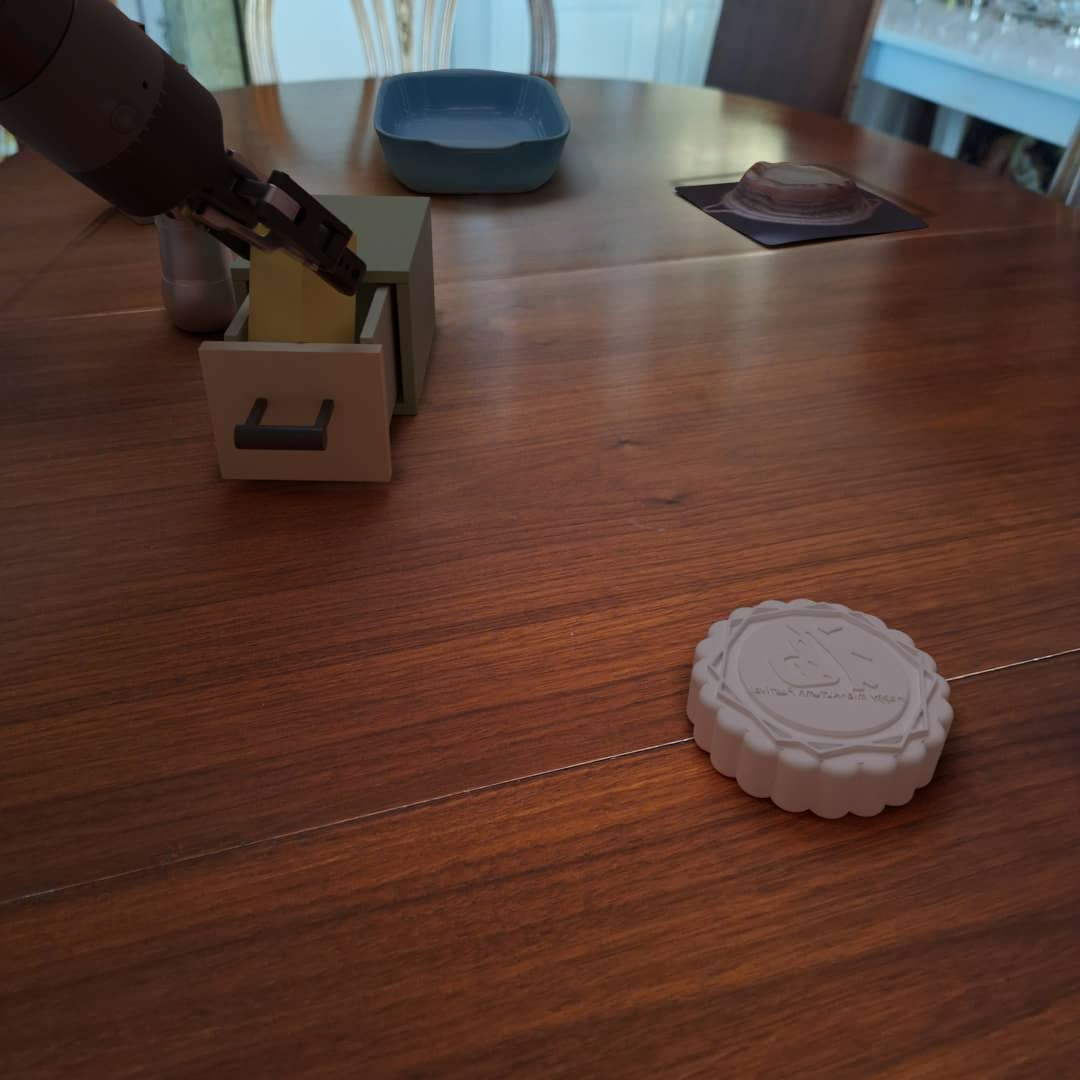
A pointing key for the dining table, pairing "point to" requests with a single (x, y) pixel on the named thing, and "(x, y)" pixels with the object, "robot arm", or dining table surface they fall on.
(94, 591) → the dining table surface
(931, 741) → the mooncake
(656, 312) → the dining table surface
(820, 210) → the round mound on square
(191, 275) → the plastic bottle
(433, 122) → the casserole dish
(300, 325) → the block
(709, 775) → the dining table surface
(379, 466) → the drawer
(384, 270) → the cabinet
